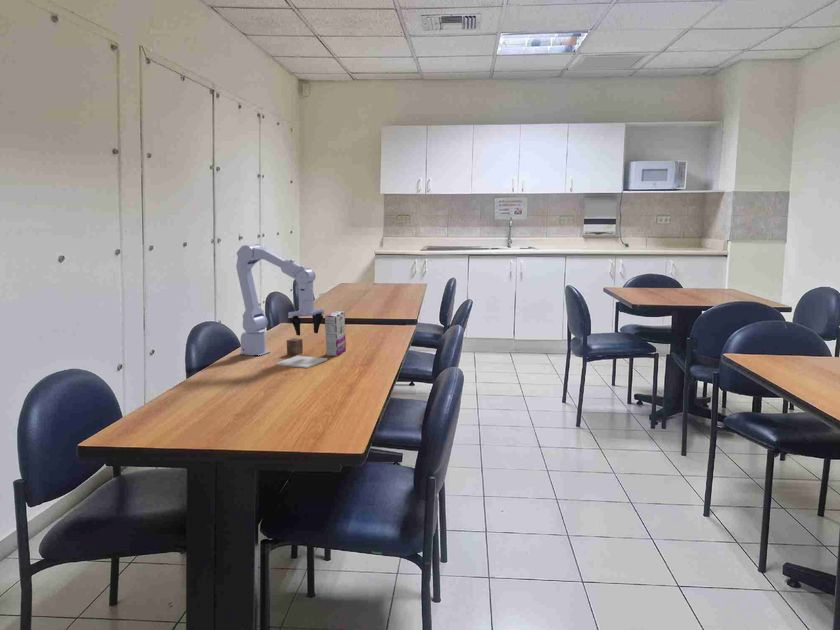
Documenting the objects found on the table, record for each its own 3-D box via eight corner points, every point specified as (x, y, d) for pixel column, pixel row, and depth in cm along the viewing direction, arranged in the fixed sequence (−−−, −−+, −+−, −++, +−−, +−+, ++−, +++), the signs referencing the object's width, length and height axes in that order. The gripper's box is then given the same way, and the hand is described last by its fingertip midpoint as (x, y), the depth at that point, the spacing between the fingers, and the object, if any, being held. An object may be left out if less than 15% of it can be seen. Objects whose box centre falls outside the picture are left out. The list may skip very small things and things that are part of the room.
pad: (275, 365, 239) (275, 363, 238) (296, 357, 251) (296, 355, 251) (307, 368, 233) (307, 366, 233) (327, 360, 246) (327, 358, 246)
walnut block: (287, 354, 256) (286, 340, 255) (293, 352, 260) (292, 338, 259) (296, 355, 254) (296, 341, 254) (302, 353, 259) (302, 338, 258)
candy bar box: (334, 350, 264) (333, 311, 261) (346, 350, 263) (345, 311, 260) (325, 356, 253) (324, 315, 251) (337, 356, 252) (336, 315, 250)
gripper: (293, 302, 240) (294, 337, 242) (327, 299, 249) (328, 333, 251) (285, 300, 246) (286, 334, 248) (319, 297, 254) (320, 330, 257)
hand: (307, 334), depth 250 cm, fingers open, 7 cm apart
